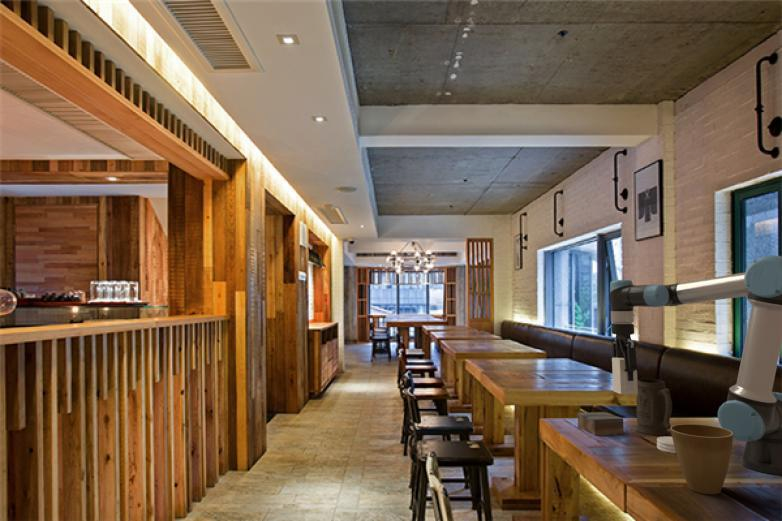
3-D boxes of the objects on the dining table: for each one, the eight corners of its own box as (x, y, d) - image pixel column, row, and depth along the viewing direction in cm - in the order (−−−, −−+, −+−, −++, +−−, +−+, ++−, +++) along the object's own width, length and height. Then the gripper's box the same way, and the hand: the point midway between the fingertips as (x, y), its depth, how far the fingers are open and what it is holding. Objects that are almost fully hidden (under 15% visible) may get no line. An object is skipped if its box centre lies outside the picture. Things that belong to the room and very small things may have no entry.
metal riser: (623, 434, 203) (623, 418, 204) (595, 436, 201) (594, 420, 201) (605, 427, 215) (605, 411, 215) (578, 428, 213) (577, 413, 213)
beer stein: (629, 429, 209) (630, 378, 209) (648, 426, 214) (649, 376, 214) (663, 442, 195) (665, 387, 195) (683, 438, 200) (684, 385, 200)
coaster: (656, 452, 181) (656, 441, 181) (657, 444, 189) (657, 434, 190) (690, 456, 176) (690, 445, 176) (689, 448, 185) (689, 438, 185)
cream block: (637, 393, 187) (636, 359, 188) (620, 394, 187) (619, 359, 188) (629, 391, 193) (628, 357, 194) (613, 391, 193) (611, 357, 194)
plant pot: (712, 479, 153) (710, 422, 154) (749, 499, 138) (746, 436, 139) (661, 480, 152) (659, 423, 153) (692, 500, 138) (690, 437, 139)
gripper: (646, 324, 183) (649, 393, 181) (620, 321, 201) (623, 384, 200) (624, 324, 182) (627, 393, 181) (600, 322, 201) (603, 384, 199)
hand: (625, 388), depth 190 cm, fingers closed on cream block, 6 cm apart
